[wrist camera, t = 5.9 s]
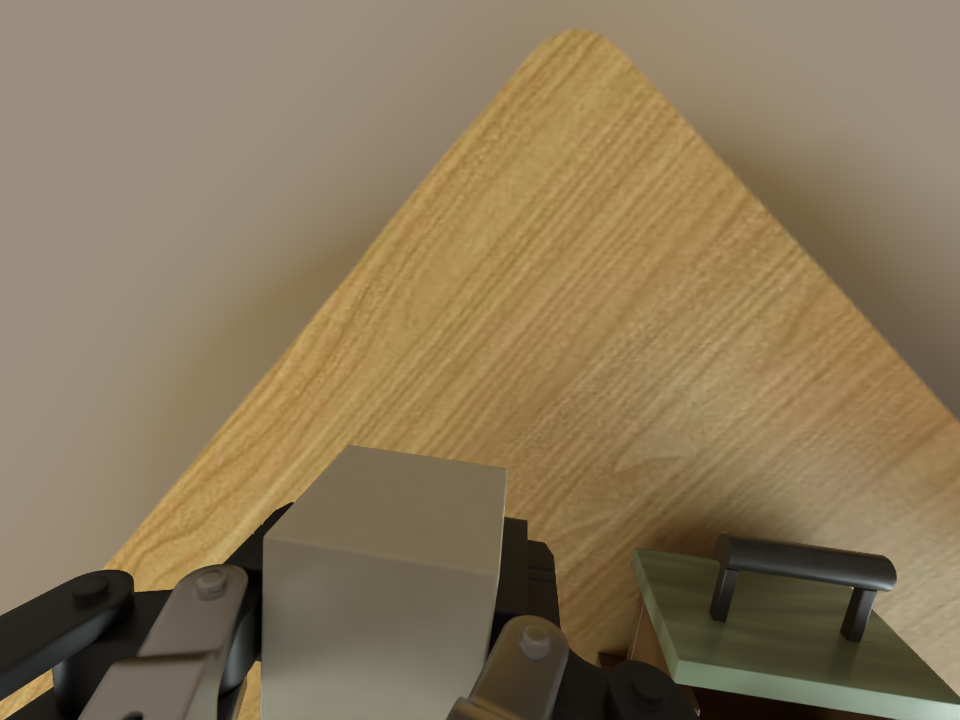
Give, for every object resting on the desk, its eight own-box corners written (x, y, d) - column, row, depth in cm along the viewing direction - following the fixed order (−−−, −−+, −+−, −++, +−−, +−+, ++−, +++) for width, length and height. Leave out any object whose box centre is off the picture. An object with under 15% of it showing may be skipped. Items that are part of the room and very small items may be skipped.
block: (348, 443, 13) (261, 536, 9) (508, 467, 13) (500, 574, 8) (339, 582, 14) (258, 726, 10) (488, 607, 14) (471, 767, 9)
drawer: (648, 479, 26) (701, 569, 19) (863, 508, 26) (1007, 615, 18) (595, 734, 30) (621, 896, 23) (780, 766, 30) (870, 943, 22)
